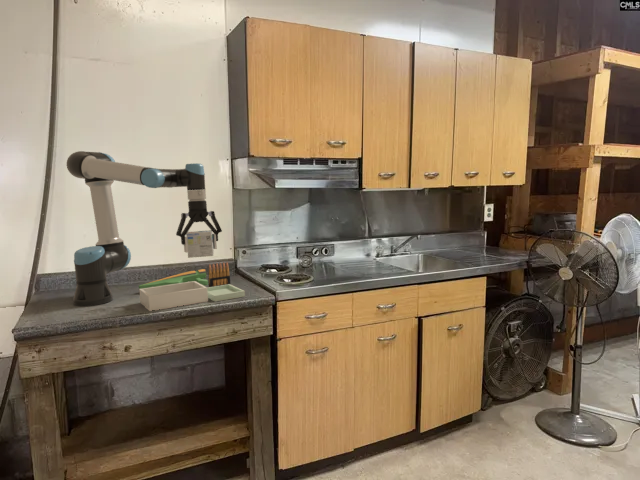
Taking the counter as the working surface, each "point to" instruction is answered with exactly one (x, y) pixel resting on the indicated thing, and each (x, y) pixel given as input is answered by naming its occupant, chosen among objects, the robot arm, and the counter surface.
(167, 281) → the toy spaceship
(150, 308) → the deep bin
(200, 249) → the light bulb box
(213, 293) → the tray
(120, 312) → the counter surface
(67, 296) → the counter surface
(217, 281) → the ammunition clip
